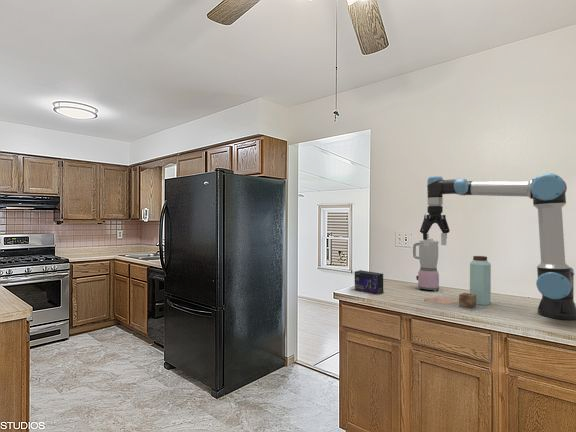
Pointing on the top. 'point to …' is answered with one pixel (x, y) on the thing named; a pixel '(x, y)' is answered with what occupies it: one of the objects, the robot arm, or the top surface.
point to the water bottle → (480, 280)
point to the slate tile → (468, 308)
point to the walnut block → (467, 300)
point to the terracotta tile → (441, 300)
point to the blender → (427, 265)
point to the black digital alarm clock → (369, 282)
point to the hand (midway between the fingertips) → (435, 245)
